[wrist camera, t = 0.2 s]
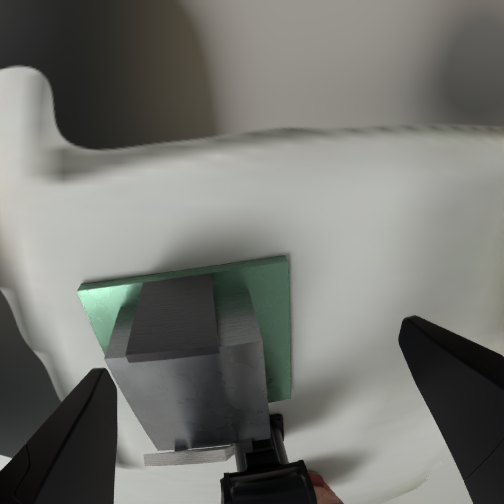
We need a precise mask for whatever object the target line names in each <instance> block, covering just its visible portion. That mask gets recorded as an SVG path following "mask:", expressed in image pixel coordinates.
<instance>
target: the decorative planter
mask: <svg viewBox="0 0 504 504" xmlns="http://www.w3.org/2000/svg"><path fill="white" fill-rule="evenodd" d="M308 474H309V476H310V479H311V481H312V484H313V486H314V490H315V493H316V498H317V504H344V503H343V502H342V501H341V500H340V499H339V498H338V497H337V496H336V495H335V493H334V492H333V491H332V490H331V489H330V487H329V486H328V485H327V484H326V483H325V482H324V480H323V479H322V477H321V476H320V475H319V474H318V473H314V472H308Z"/></svg>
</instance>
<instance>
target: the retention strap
mask: <svg viewBox="0 0 504 504" xmlns="http://www.w3.org/2000/svg"><path fill="white" fill-rule="evenodd" d="M237 451H238V448H237V445H230V446H222V447H214V448H204V449H192V450H184V451H176V452H167V453H156V454H144V462H145V466H161V465H184V464H199V463H210V462H220V461H227V460H228V459H229V458H230V457H231V456H233V455H234V454H235V453H236V452H237Z"/></svg>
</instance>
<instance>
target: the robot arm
mask: <svg viewBox="0 0 504 504" xmlns="http://www.w3.org/2000/svg"><path fill="white" fill-rule="evenodd" d="M398 341H399V345H400V348H401V350H402V352H403V355H404V357H405V360H406V362H407V364H408V367H409V369H410V372H411V374H412V376H413V379H414V381H415V383H416V385H417V387H418V389H419V391H420V393H421V395H422V396H423V398H424V400H425V402H426V404H427V406H428V408H429V410H430V412H431V414H432V416H433V418H434V420H435V421H436V423H437V425H438V427H439V429H440V431H441V433H442V436H443V438H444V440H445V442H446V444H447V446H448V448H449V450H450V452H451V454H452V456H453V458H454V460H455V463H456V465H457V467H458V469H459V471H460V473H461V476H462V478H463V480H464V483H465V485H466V488H467V490H468V492H469V495H470V497H471V499H472V502H473V504H504V357H503V355H501V354H499V353H496V352H494V351H492V350H490V349H488V348H486V347H483V346H481V345H479V344H477V343H475V342H473V341H471V340H468V339H466V338H464V337H462V336H460V335H458V334H455V333H453V332H451V331H449V330H447V329H445V328H442V327H440V326H438V325H436V324H434V323H431V322H429V321H427V320H425V319H423V318H421V317H418V316H416V315H413V316H410V317H406V318H404V319H403V321H402V325H401V329H400V333H399V338H398ZM269 421H270V432H271V438H269V439H264V440H258V441H252V447H253V452H249V453H243V454H242V452H241V448H240V443H238V444H231V445H237V448H238V451H237V452H236V453H235V458H236V465H237V471H238V472H234V473H229V472H228V473H224V478H222V479H220V483H221V492H222V495H221V504H317V498H316V493H315V490H314V486H313V484H312V481H311V479H310V476H309V474H308V471H307V468H306V466H305V463H304V461H303V460H298V461H297V462H293V463H289V462H288V458H287V454H286V451H285V447H284V443H283V441H284V430H283V416H282V415H281V414H277V415H272V416H269ZM116 449H117V388H116V386H115V384H114V382H113V380H112V378H111V376H110V374H109V372H108V371H107V369H106V368H93V369H92V370H91V371H90V372H89V373H88V374H87V375H86V376H85V377H84V378H83V379H82V380H81V381H80V383H79V384H78V385H77V386H76V387H75V388H74V389H73V390H72V391H71V392H70V394H69V395H68V396H67V397H66V398H65V399H64V400H63V401H62V402H61V404H60V405H59V406H58V407H57V408H56V409H55V410H54V411H53V413H52V414H51V415H50V416H49V417H48V418H47V420H46V421H45V422H44V423H43V424H42V425H41V426H40V428H39V429H38V430H37V431H36V432H35V433H34V434H33V435H32V437H31V438H30V439H29V440H28V441H27V443H26V444H25V445H24V446H23V447H22V448H21V449H20V450H19V452H18V453H17V454H16V455H15V456H14V457H13V458H12V460H11V461H10V462H9V463H8V464H7V465H6V466H5V467H4V468H3V469H2V470H1V471H0V504H114V480H115V463H116Z"/></svg>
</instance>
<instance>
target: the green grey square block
mask: <svg viewBox="0 0 504 504" xmlns="http://www.w3.org/2000/svg"><path fill="white" fill-rule="evenodd" d="M77 292H78V295H79V297H80V300H81V302H82V305H83V307H84V310H85V312H86V314H87V317H88V319H89V321H90V324H91V326H92V328H93V330H94V333H95V335H96V337H97V339H98V341H99V344H100V346H101V348H102V350H103V352H104V354H105V358H104V359H105V361H106V363H107V365H108V367H109V369H110V371H111V373H112V375H113V377H114V378H115V380H116V382H117V384H118V386H119V388H120V389H121V391H122V393H123V395H124V397H125V398H126V400H127V402H128V404H129V405H130V407H131V409H132V410H133V412H134V414H135V415H136V417H137V419H138V420H139V422H140V424H141V425H142V427H143V428H144V430H145V431H146V433H147V435H148V436H149V438H150V439H151V441H152V442H153V444H154V445H155V447H156V448H157V450H175V452H176V451H184V450H188V449H193V448H204V447H214V446H223V445H231V444H238V443H240V448H241V452H242V454H243V453H249V452H253V447H252V441H258V440H264V439H269V438H271V432H270V421H269V409H268V403H270V402H275V401H280V400H285V399H290V398H291V368H290V307H289V272H288V260H287V259H286V257H285V255H284V256H277V257H270V258H264V259H257V260H250V261H243V262H236V263H229V264H222V265H216V266H209V267H202V268H195V269H188V270H181V271H174V272H167V273H159V274H152V275H145V276H138V277H131V278H124V279H116V280H109V281H102V282H95V283H87V284H81V285H80V287H79V289H78V290H77Z"/></svg>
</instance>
